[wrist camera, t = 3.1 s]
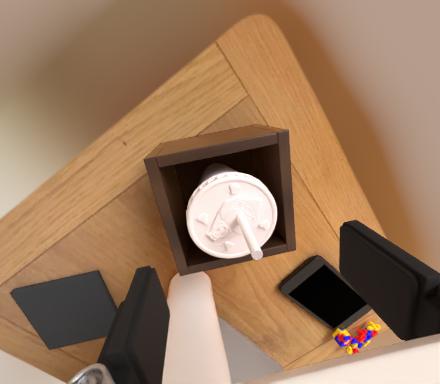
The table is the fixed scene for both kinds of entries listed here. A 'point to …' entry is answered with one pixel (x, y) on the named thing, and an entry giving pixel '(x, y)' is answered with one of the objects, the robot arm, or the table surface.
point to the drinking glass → (194, 334)
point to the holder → (210, 147)
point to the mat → (68, 309)
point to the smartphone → (324, 294)
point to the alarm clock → (245, 356)
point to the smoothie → (230, 213)
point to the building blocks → (345, 338)
